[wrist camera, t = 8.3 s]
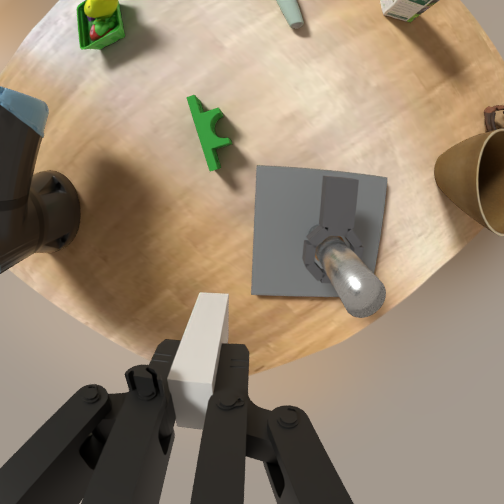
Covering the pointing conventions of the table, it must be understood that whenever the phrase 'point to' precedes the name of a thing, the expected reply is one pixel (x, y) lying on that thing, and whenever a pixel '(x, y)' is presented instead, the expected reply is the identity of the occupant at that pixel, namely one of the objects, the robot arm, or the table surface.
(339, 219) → the collar
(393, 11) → the syrup box
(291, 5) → the flashlight
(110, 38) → the fruit basket
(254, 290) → the pipe stand
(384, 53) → the table surface
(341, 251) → the pipe
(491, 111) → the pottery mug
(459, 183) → the plant pot
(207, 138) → the pipe clamp
